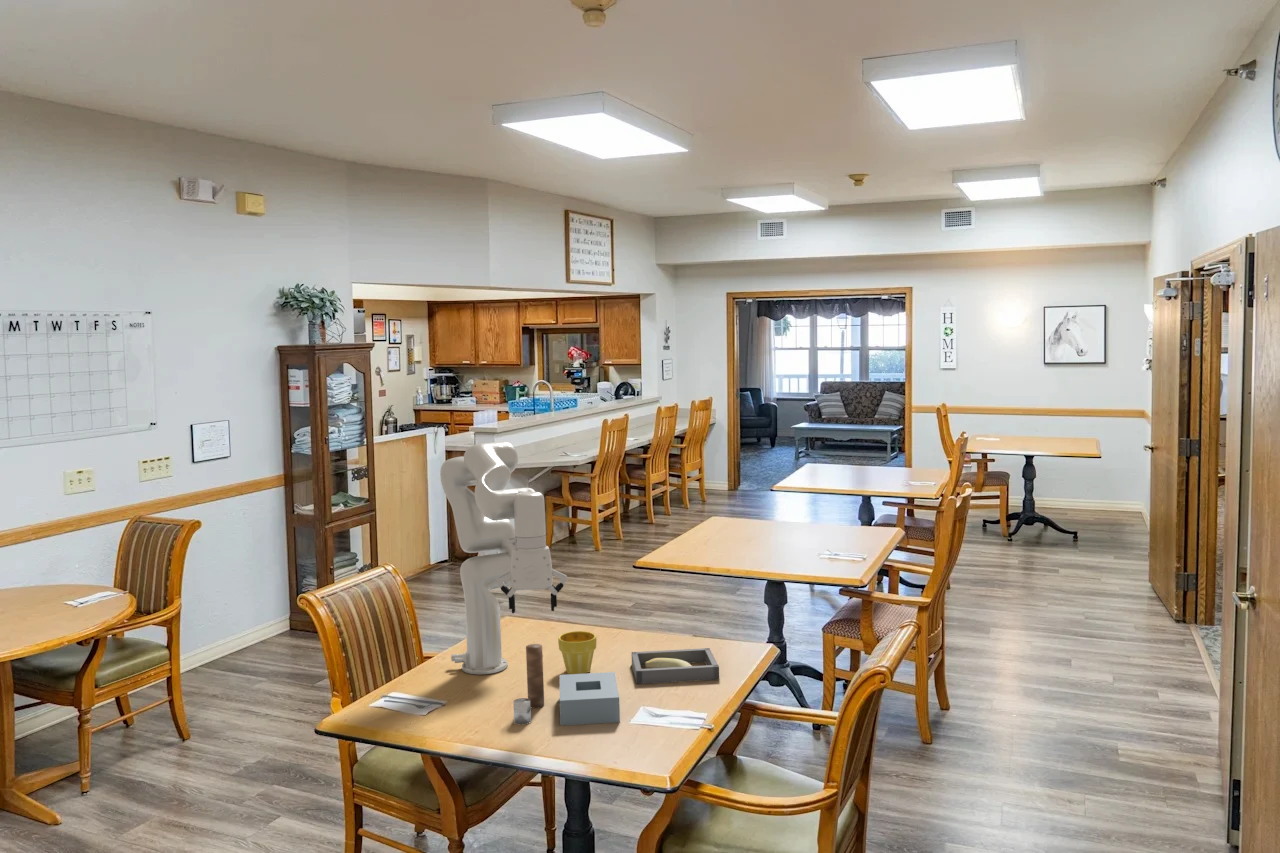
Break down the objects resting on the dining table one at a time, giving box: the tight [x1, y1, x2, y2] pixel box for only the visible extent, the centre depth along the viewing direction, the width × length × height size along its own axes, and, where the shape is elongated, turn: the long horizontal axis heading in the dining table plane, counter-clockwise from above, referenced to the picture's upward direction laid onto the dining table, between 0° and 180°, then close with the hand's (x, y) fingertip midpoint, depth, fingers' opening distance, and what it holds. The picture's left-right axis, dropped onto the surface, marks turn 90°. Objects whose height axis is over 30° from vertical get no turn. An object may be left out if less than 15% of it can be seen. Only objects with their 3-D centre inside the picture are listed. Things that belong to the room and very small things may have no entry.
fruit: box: [644, 658, 693, 669], centre depth 259 cm, size 7×15×3 cm, turn 48°
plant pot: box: [558, 630, 597, 674], centre depth 261 cm, size 10×10×10 cm
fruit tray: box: [631, 647, 720, 685], centre depth 258 cm, size 22×16×4 cm
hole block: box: [559, 671, 621, 726], centre depth 232 cm, size 14×18×6 cm
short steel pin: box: [512, 697, 532, 726], centre depth 226 cm, size 4×4×5 cm
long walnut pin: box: [525, 643, 545, 709], centre depth 236 cm, size 4×4×15 cm
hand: (533, 610), depth 235 cm, fingers open, 9 cm apart
